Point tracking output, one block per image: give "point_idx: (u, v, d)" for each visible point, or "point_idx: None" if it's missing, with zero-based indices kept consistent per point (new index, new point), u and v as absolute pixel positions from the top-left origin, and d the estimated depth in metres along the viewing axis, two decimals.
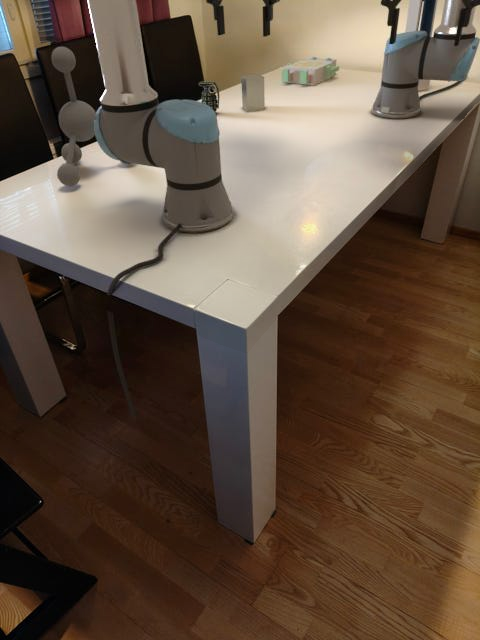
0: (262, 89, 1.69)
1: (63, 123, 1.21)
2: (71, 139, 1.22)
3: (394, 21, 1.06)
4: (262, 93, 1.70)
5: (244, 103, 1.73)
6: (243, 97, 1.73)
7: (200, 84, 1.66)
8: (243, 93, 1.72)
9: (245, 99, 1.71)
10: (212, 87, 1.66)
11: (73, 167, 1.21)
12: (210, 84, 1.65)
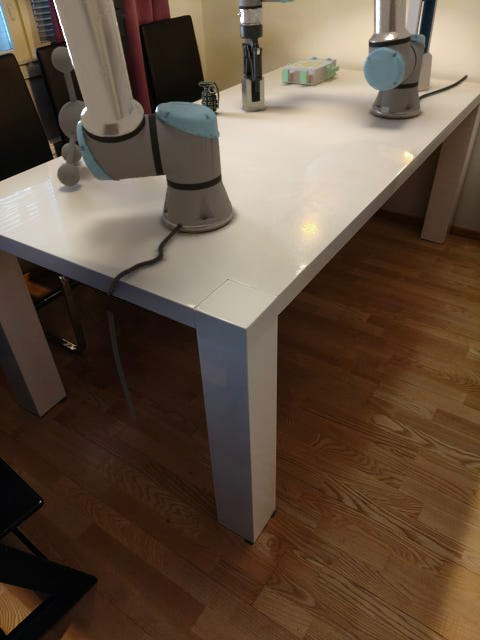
0: (262, 89, 1.69)
1: (63, 123, 1.21)
2: (71, 139, 1.22)
3: None
4: (262, 93, 1.70)
5: (244, 103, 1.73)
6: (243, 97, 1.73)
7: (200, 84, 1.66)
8: (243, 93, 1.72)
9: (245, 99, 1.71)
10: (212, 87, 1.66)
11: (73, 167, 1.21)
12: (210, 84, 1.65)
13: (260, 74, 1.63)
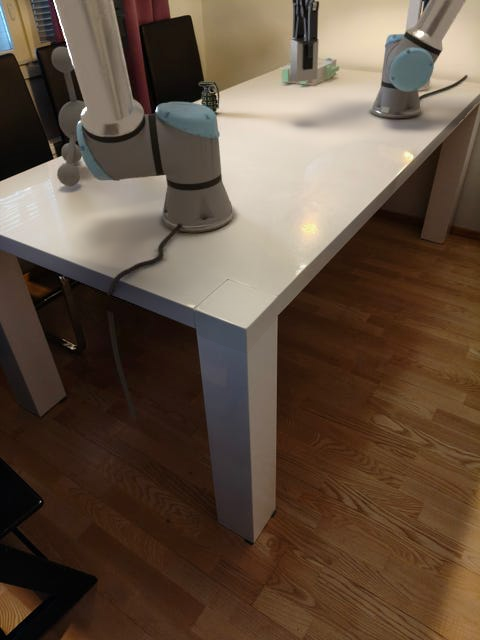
0: (315, 54, 1.43)
1: (63, 123, 1.21)
2: (71, 139, 1.22)
3: None
4: (315, 59, 1.43)
5: (292, 72, 1.47)
6: (292, 65, 1.46)
7: (200, 84, 1.66)
8: (292, 60, 1.45)
9: (295, 66, 1.44)
10: (212, 87, 1.66)
11: (73, 167, 1.21)
12: (210, 84, 1.65)
13: (315, 35, 1.36)
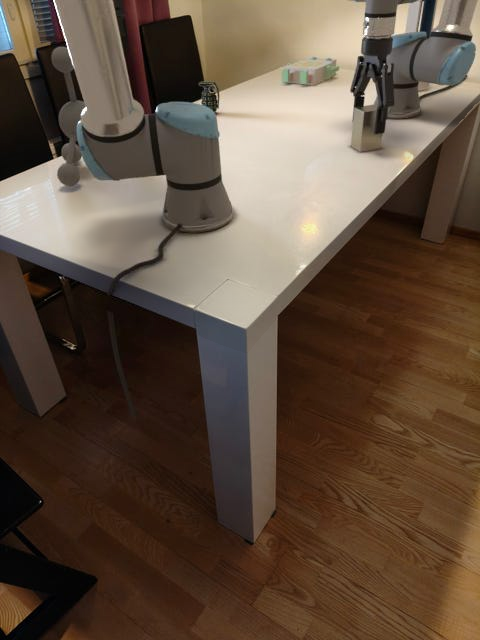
0: None
1: (63, 123, 1.21)
2: (71, 139, 1.22)
3: (354, 106, 1.36)
4: None
5: (354, 141, 1.36)
6: (354, 133, 1.35)
7: (200, 84, 1.66)
8: (355, 128, 1.34)
9: (358, 136, 1.34)
10: (212, 87, 1.66)
11: (73, 167, 1.21)
12: (210, 84, 1.65)
13: (392, 98, 1.22)
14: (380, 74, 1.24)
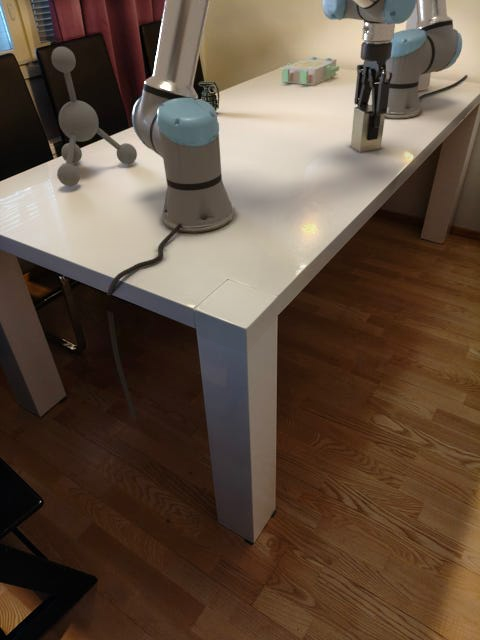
0: (381, 124, 1.32)
1: (63, 123, 1.21)
2: (71, 139, 1.22)
3: None
4: (380, 129, 1.33)
5: (354, 141, 1.36)
6: (354, 133, 1.35)
7: (200, 84, 1.66)
8: (355, 128, 1.34)
9: (358, 136, 1.34)
10: (212, 87, 1.66)
11: (73, 167, 1.21)
12: (210, 84, 1.65)
13: None
14: None
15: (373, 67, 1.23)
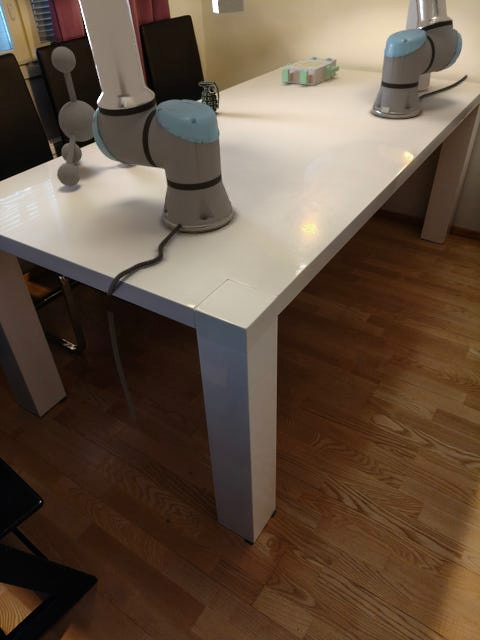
0: None
1: (63, 123, 1.21)
2: (71, 139, 1.22)
3: None
4: None
5: (214, 3, 1.21)
6: None
7: (200, 84, 1.66)
8: None
9: None
10: (212, 87, 1.66)
11: (73, 167, 1.21)
12: (210, 84, 1.65)
13: None
14: None
15: None
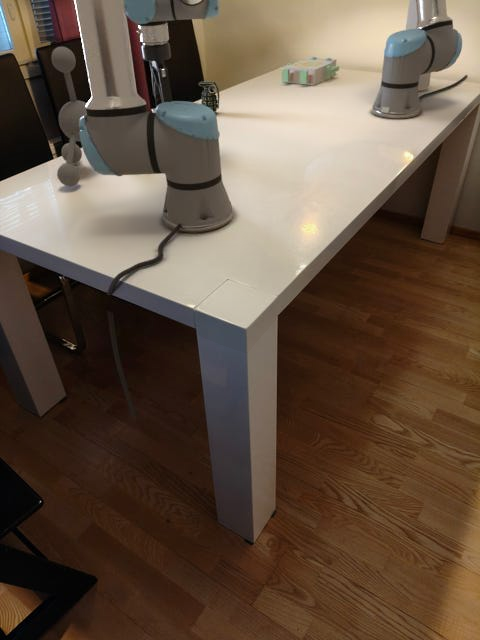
0: None
1: (63, 123, 1.21)
2: (71, 139, 1.22)
3: None
4: None
5: None
6: None
7: (200, 84, 1.66)
8: None
9: None
10: (212, 87, 1.66)
11: (73, 167, 1.21)
12: (210, 84, 1.65)
13: None
14: None
15: (155, 67, 1.32)
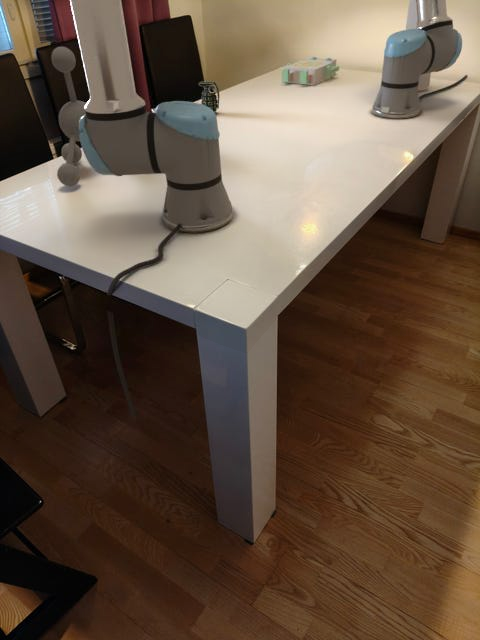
0: None
1: (63, 123, 1.21)
2: (71, 139, 1.22)
3: None
4: None
5: None
6: None
7: (200, 84, 1.66)
8: None
9: None
10: (212, 87, 1.66)
11: (73, 167, 1.21)
12: (210, 84, 1.65)
13: None
14: None
15: None
